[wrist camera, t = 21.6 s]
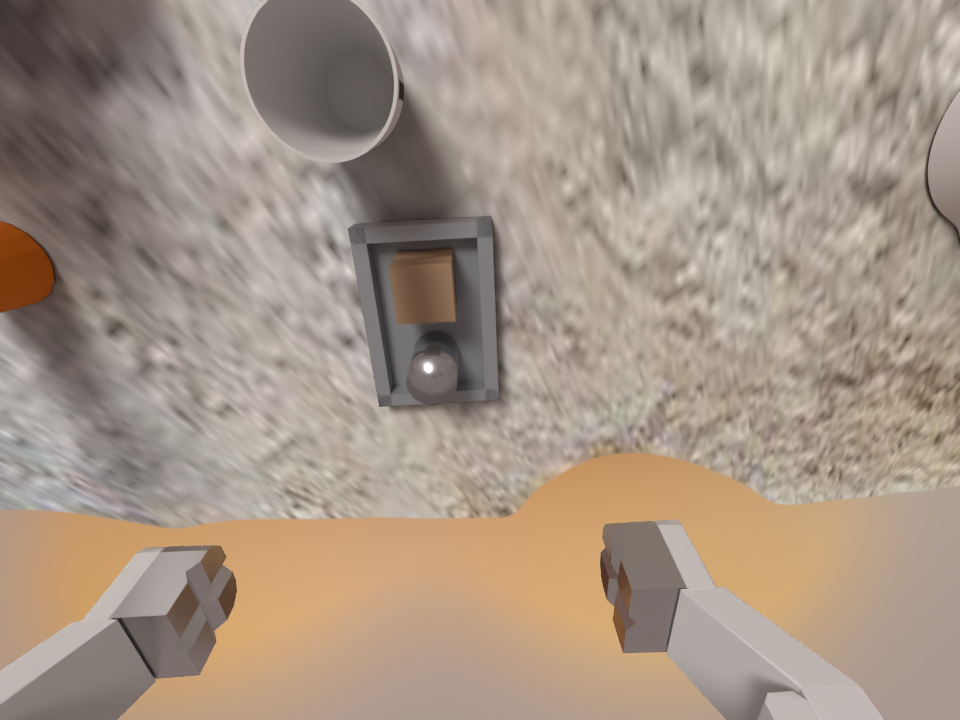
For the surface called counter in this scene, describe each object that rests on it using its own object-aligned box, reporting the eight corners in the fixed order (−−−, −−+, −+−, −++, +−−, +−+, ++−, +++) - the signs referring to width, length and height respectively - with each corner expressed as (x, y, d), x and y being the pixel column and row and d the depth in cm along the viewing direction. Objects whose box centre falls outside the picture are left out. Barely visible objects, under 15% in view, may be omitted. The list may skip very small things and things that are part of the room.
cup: (437, 120, 34) (426, 116, 25) (346, 175, 35) (304, 189, 26) (377, -1, 30) (338, -57, 21) (279, 64, 32) (205, 38, 23)
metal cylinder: (460, 369, 42) (458, 403, 37) (417, 371, 42) (409, 406, 37) (456, 329, 41) (454, 359, 35) (412, 332, 41) (403, 362, 35)
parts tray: (490, 215, 37) (492, 220, 35) (497, 388, 44) (498, 400, 42) (354, 223, 37) (348, 228, 35) (383, 394, 44) (379, 406, 42)
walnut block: (453, 247, 37) (451, 263, 33) (457, 300, 39) (455, 321, 35) (398, 250, 37) (388, 266, 33) (405, 303, 39) (396, 324, 35)
